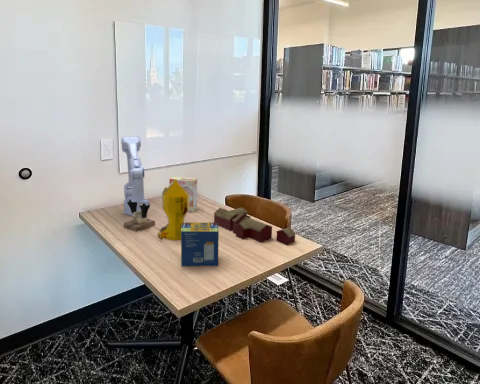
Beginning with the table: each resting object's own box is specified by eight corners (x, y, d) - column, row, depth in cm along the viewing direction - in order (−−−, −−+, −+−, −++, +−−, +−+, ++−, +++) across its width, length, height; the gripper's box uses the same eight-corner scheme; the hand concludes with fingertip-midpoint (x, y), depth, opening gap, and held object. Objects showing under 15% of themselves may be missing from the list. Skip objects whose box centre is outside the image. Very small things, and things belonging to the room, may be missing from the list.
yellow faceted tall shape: (169, 246, 169) (168, 187, 161) (149, 229, 188) (147, 176, 180) (202, 238, 178) (202, 183, 171) (180, 223, 198) (179, 173, 190)
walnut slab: (124, 228, 190) (123, 222, 189) (141, 222, 200) (141, 216, 199) (137, 232, 185) (137, 227, 184) (154, 226, 195) (154, 220, 194)
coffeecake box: (169, 210, 219) (168, 178, 214) (174, 206, 226) (173, 175, 221) (193, 212, 216) (193, 180, 211) (197, 209, 223) (197, 177, 218)
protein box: (182, 255, 160) (182, 222, 156) (217, 255, 161) (218, 222, 157) (180, 266, 150) (180, 231, 146) (218, 266, 151) (219, 231, 147)
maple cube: (133, 221, 191) (132, 212, 190) (140, 219, 195) (140, 210, 194) (139, 223, 188) (139, 214, 187) (147, 221, 193) (146, 212, 191)
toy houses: (210, 225, 197) (210, 207, 195) (238, 217, 211) (238, 200, 208) (272, 253, 166) (273, 232, 163) (300, 241, 179) (301, 222, 177)
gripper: (122, 190, 188) (123, 215, 191) (141, 195, 180) (142, 221, 184) (133, 187, 193) (134, 211, 197) (152, 192, 186) (153, 217, 189)
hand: (139, 216), depth 191 cm, fingers open, 7 cm apart
